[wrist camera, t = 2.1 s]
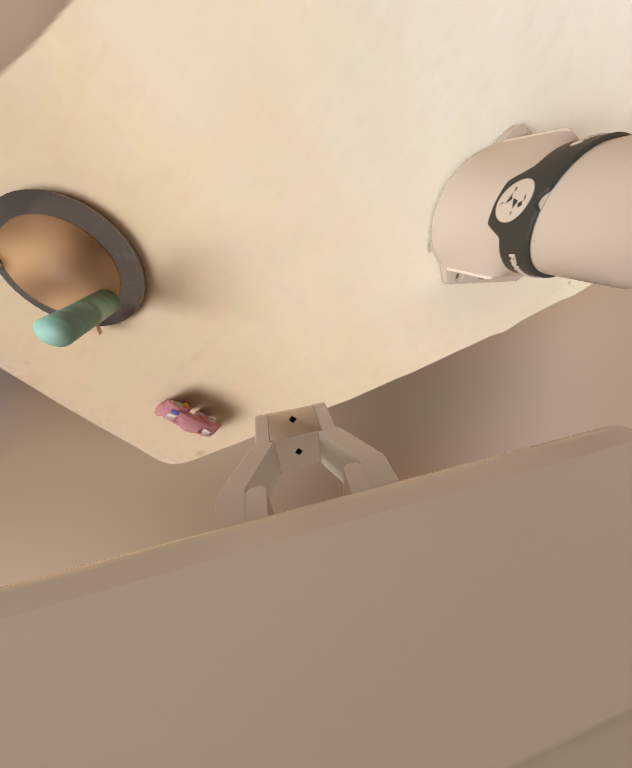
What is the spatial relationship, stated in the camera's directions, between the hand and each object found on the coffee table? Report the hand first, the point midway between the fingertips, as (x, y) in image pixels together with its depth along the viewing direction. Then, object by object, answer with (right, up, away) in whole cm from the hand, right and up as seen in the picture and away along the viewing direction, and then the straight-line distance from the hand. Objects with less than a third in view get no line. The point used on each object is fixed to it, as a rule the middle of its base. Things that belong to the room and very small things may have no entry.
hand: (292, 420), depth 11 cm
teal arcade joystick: (-27, +14, +17) cm, 35 cm away
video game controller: (-21, -3, +33) cm, 39 cm away
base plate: (-27, +16, +18) cm, 36 cm away
